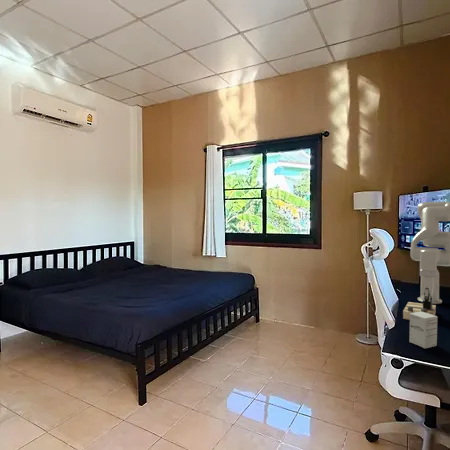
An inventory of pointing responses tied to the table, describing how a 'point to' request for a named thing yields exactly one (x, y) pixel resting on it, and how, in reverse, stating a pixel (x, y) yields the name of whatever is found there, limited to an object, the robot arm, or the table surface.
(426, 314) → the supplement box
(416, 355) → the table surface
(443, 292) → the table surface
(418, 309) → the fader console
